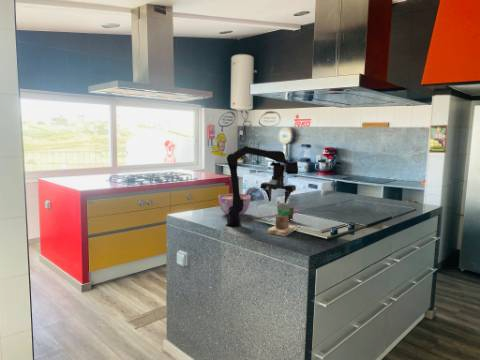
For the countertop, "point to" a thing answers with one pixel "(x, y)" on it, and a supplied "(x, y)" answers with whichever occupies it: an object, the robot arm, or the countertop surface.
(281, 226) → the walnut block
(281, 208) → the food container
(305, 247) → the countertop surface
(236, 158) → the robot arm
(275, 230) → the oak base
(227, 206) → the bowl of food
